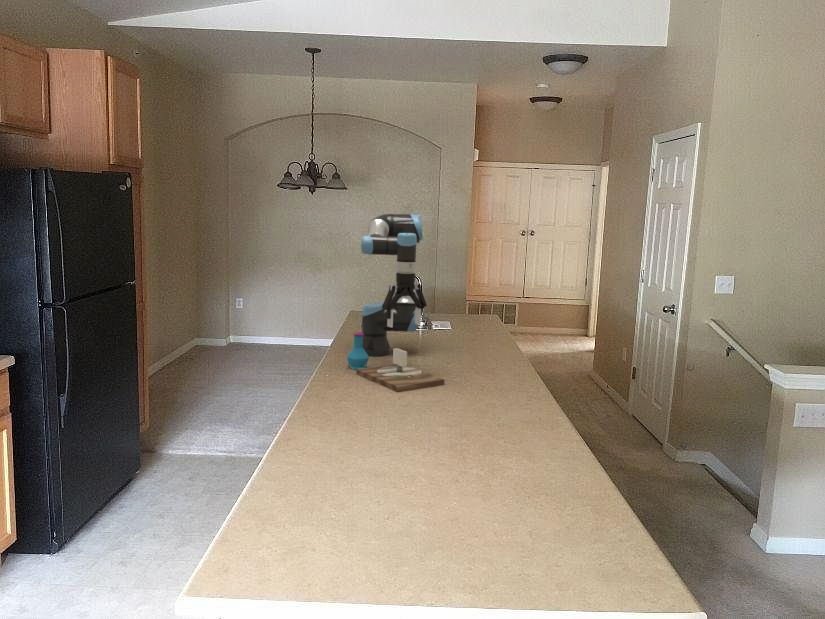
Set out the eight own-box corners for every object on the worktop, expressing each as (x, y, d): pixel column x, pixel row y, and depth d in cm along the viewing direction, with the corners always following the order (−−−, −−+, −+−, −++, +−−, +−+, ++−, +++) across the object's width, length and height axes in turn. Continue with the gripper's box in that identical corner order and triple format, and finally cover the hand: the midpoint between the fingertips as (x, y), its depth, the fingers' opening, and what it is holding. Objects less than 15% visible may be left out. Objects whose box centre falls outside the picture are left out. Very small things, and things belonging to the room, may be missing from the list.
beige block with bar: (375, 372, 263) (375, 350, 262) (397, 369, 269) (397, 348, 268) (384, 376, 257) (385, 354, 256) (406, 373, 263) (407, 351, 262)
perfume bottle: (370, 365, 283) (371, 331, 281) (366, 370, 274) (367, 335, 272) (349, 364, 284) (349, 330, 281) (344, 369, 275) (345, 334, 272)
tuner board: (356, 373, 268) (356, 368, 268) (401, 367, 281) (401, 362, 280) (397, 392, 244) (397, 385, 244) (444, 384, 257) (444, 378, 256)
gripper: (384, 274, 250) (383, 329, 253) (436, 272, 264) (434, 324, 267) (374, 272, 255) (372, 326, 259) (425, 270, 270) (423, 321, 273)
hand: (404, 325), depth 263 cm, fingers open, 13 cm apart
